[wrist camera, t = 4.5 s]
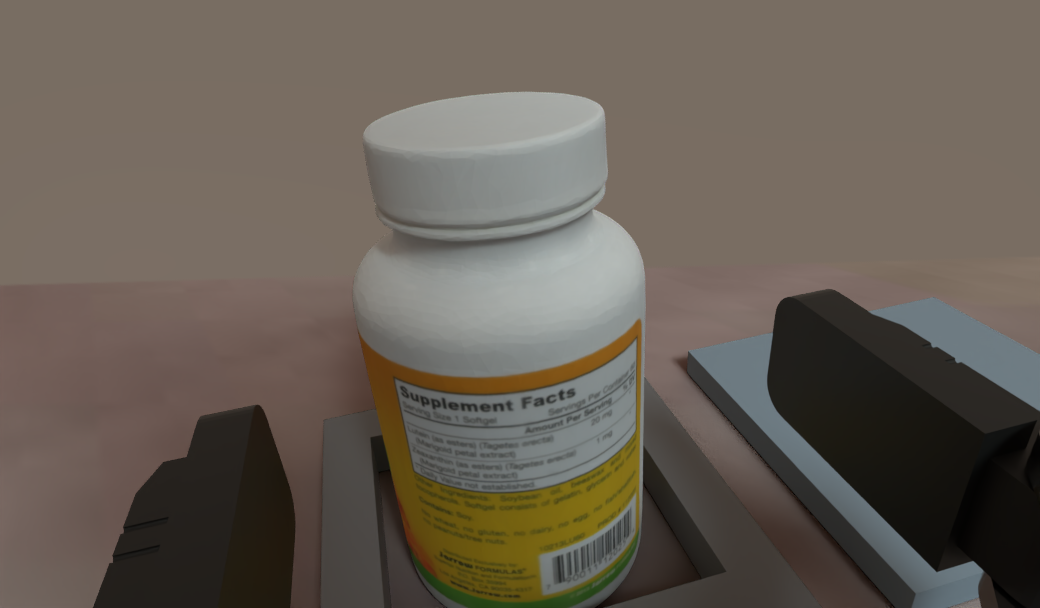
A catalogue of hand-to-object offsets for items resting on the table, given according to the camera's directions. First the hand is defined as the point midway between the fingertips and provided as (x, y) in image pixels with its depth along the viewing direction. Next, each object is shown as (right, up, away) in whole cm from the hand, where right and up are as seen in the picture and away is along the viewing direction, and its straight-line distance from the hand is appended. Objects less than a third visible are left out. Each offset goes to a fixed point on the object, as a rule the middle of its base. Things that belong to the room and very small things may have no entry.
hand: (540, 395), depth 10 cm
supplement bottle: (0, -4, +5) cm, 7 cm away
